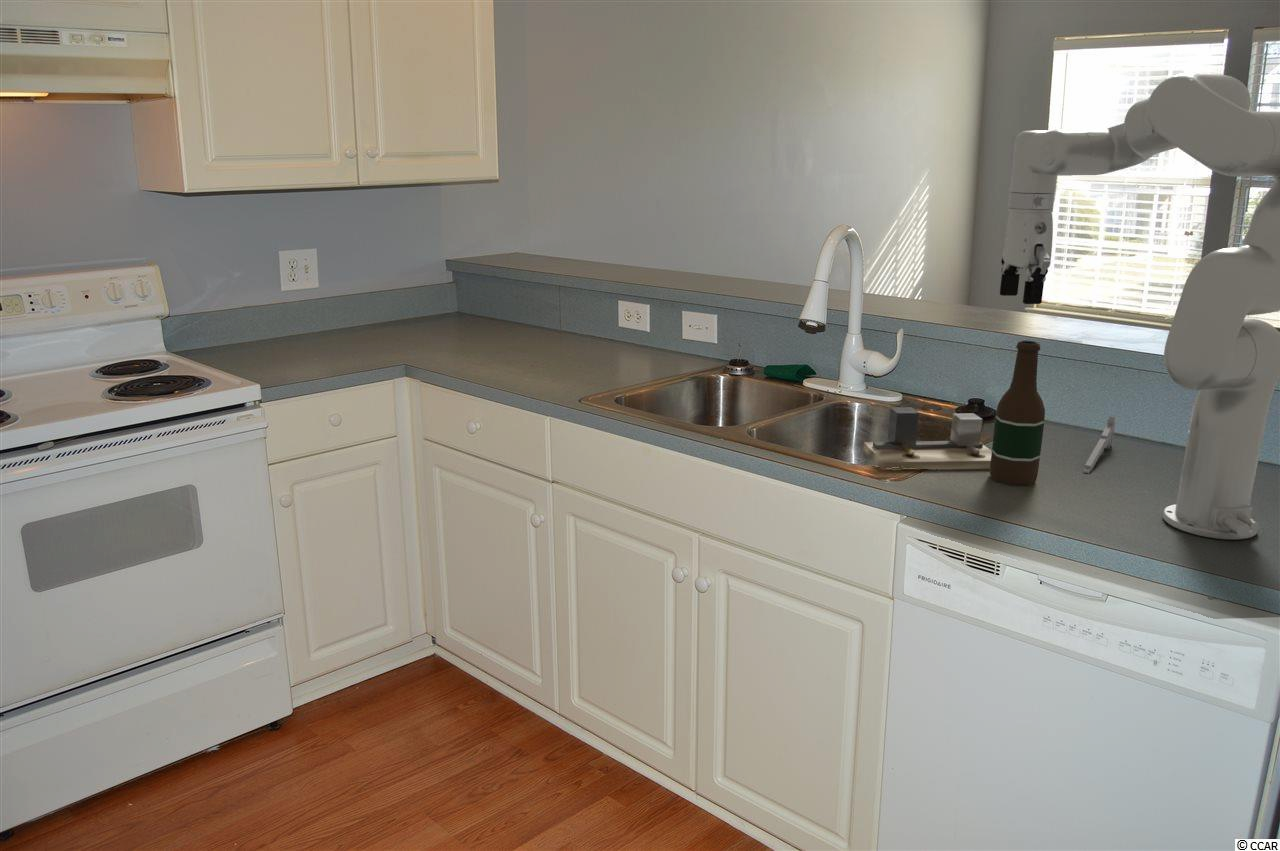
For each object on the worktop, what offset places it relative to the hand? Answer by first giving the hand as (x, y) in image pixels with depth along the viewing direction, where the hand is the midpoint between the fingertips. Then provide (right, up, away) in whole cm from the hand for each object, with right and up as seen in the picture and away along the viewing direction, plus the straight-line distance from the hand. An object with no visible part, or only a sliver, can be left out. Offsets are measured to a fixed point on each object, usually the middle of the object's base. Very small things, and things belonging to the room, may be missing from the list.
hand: (1019, 299), depth 182 cm
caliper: (+15, -29, +2) cm, 33 cm away
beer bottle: (-5, -32, -9) cm, 34 cm away
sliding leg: (-21, -27, +1) cm, 34 cm away
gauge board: (-16, -29, +1) cm, 33 cm away
